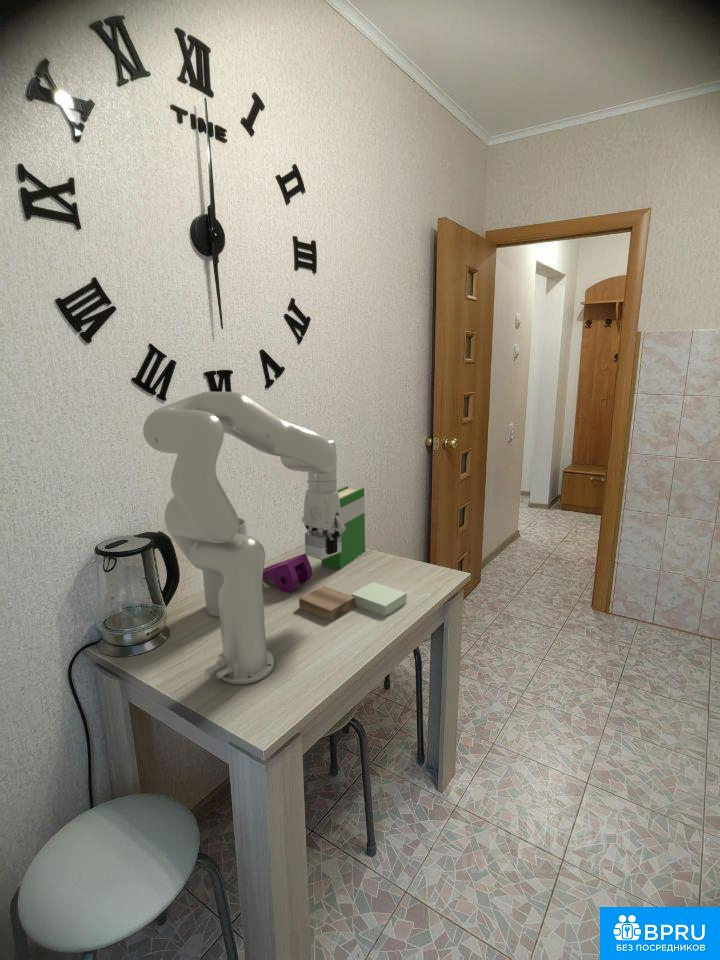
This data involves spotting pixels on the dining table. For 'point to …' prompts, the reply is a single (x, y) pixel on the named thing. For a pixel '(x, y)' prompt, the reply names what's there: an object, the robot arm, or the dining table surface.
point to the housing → (319, 544)
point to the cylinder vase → (217, 582)
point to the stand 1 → (327, 603)
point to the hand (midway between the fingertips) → (323, 549)
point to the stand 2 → (379, 598)
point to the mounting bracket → (289, 573)
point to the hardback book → (350, 528)
